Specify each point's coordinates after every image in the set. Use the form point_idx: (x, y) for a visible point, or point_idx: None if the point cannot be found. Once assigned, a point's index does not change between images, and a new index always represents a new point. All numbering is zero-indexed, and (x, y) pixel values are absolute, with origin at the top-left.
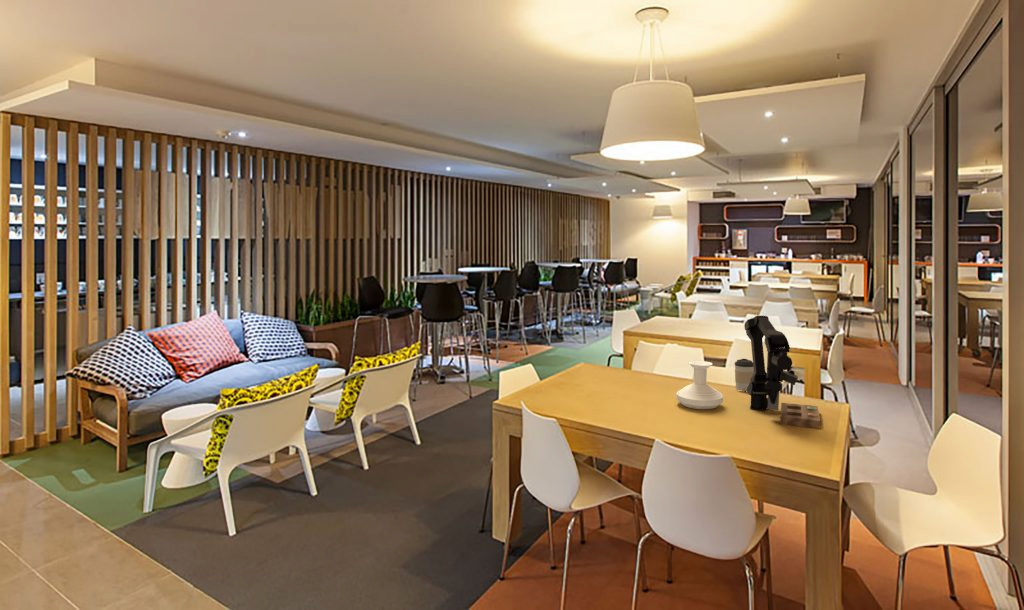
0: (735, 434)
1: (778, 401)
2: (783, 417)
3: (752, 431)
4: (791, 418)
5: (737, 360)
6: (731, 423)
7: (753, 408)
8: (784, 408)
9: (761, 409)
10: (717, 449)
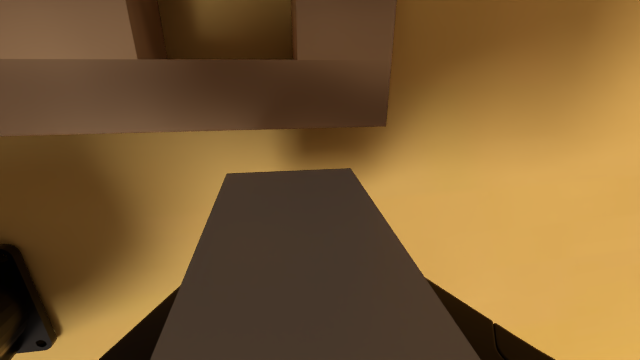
0: (613, 311)
1: (385, 225)
2: (385, 98)
3: (562, 255)
4: (392, 13)
5: None
6: None
7: (46, 328)
8: (3, 95)
9: (25, 278)
10: None
